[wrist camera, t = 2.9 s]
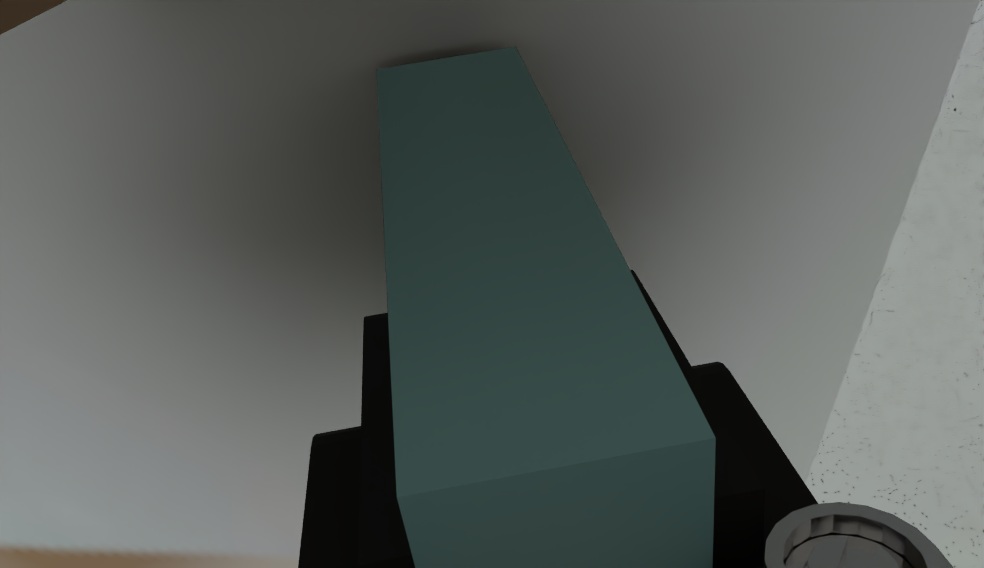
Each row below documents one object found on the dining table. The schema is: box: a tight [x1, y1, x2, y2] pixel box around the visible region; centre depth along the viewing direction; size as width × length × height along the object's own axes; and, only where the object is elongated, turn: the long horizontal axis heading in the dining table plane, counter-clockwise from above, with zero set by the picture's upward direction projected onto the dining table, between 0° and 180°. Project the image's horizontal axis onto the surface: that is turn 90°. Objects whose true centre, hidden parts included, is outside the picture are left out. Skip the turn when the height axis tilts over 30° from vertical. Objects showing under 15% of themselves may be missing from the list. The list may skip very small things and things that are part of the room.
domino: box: [376, 47, 716, 568], centre depth 11 cm, size 5×2×9 cm, turn 8°
